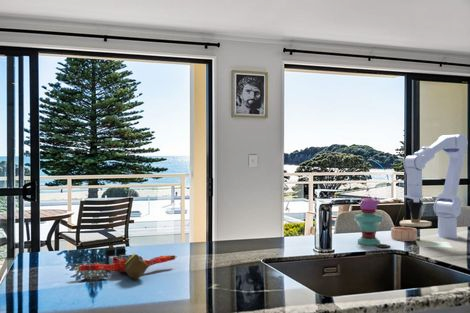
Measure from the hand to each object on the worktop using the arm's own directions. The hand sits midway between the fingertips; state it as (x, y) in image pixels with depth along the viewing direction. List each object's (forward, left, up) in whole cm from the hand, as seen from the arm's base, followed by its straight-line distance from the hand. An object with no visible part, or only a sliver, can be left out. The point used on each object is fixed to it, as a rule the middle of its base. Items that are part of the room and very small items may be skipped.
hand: (414, 218), depth 183 cm
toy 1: (+73, -89, -10) cm, 116 cm away
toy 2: (+9, -18, -10) cm, 22 cm away
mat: (+6, +6, -9) cm, 13 cm away
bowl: (-4, -4, -9) cm, 11 cm away
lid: (0, 0, -2) cm, 2 cm away
